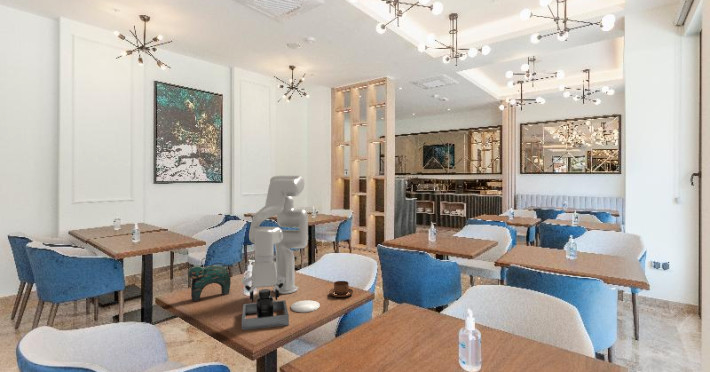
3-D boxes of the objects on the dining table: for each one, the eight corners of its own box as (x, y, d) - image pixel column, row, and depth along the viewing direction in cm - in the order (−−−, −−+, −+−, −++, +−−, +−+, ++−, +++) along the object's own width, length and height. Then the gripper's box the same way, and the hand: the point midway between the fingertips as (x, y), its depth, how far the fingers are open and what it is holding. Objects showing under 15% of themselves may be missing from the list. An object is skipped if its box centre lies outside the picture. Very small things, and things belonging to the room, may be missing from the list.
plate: (289, 303, 169) (289, 301, 169) (317, 300, 172) (317, 299, 172) (292, 313, 156) (292, 312, 156) (322, 310, 160) (322, 308, 160)
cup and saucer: (357, 293, 183) (357, 281, 183) (344, 300, 173) (344, 288, 173) (338, 289, 189) (338, 278, 189) (324, 296, 179) (324, 284, 179)
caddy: (243, 313, 157) (243, 304, 157) (285, 309, 162) (285, 300, 162) (241, 330, 140) (241, 320, 140) (288, 325, 145) (288, 315, 145)
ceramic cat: (190, 303, 170) (189, 261, 170) (186, 299, 175) (185, 258, 175) (232, 294, 183) (231, 255, 182) (227, 291, 188) (226, 253, 187)
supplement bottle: (276, 316, 153) (276, 289, 153) (267, 323, 147) (267, 294, 146) (262, 315, 155) (262, 287, 155) (253, 321, 149) (253, 292, 149)
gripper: (284, 256, 156) (285, 295, 156) (242, 258, 151) (243, 299, 151) (286, 259, 149) (286, 301, 149) (242, 262, 144) (242, 304, 144)
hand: (264, 300), depth 150 cm, fingers open, 9 cm apart
